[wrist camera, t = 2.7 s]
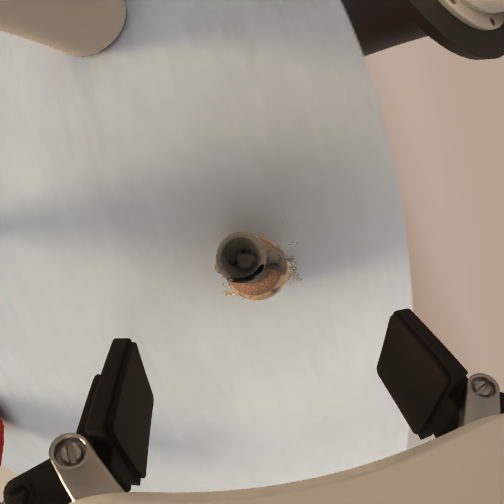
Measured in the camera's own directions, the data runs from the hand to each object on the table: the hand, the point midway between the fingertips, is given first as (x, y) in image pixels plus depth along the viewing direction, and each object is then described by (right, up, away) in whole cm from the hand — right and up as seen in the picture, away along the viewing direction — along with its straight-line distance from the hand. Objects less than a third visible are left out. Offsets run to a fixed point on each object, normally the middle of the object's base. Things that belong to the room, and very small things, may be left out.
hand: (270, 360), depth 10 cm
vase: (-1, +4, +9) cm, 10 cm away
